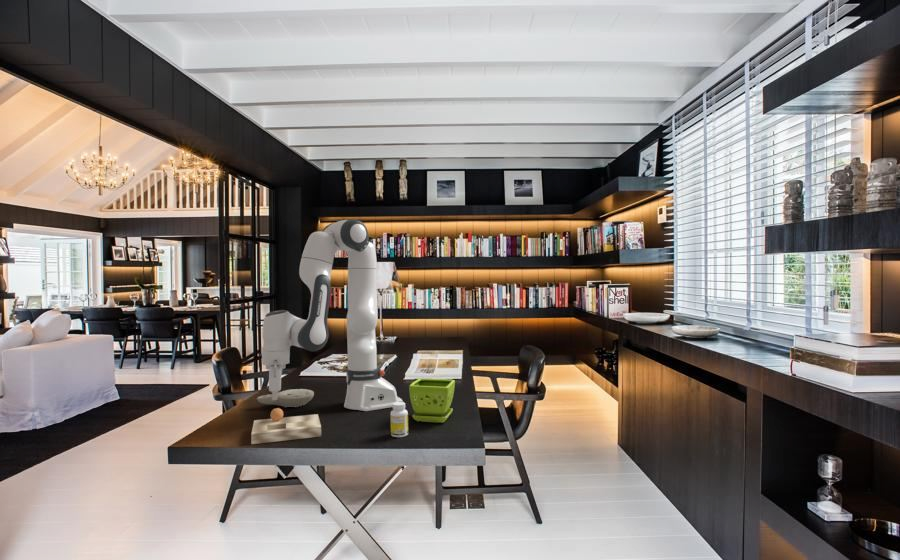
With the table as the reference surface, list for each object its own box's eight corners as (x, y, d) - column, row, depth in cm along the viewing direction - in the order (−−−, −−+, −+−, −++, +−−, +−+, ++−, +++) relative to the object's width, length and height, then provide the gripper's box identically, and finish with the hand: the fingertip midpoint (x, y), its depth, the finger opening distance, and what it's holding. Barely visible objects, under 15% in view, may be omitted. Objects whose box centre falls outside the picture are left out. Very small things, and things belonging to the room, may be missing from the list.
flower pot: (448, 425, 157) (448, 387, 157) (407, 423, 160) (407, 385, 160) (456, 414, 171) (456, 378, 171) (418, 412, 173) (418, 377, 173)
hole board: (317, 422, 161) (317, 414, 161) (321, 436, 147) (321, 426, 147) (254, 429, 155) (254, 420, 155) (251, 444, 141) (251, 434, 141)
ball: (283, 418, 157) (283, 406, 157) (283, 421, 153) (283, 409, 153) (270, 419, 155) (270, 407, 155) (270, 423, 152) (270, 410, 152)
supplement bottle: (399, 431, 152) (399, 400, 152) (411, 434, 148) (411, 402, 148) (387, 435, 147) (386, 403, 147) (399, 438, 144) (399, 406, 144)
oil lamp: (256, 414, 173) (256, 400, 173) (256, 405, 187) (256, 392, 187) (316, 407, 181) (315, 394, 181) (312, 399, 195) (311, 387, 195)
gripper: (285, 362, 152) (284, 406, 152) (285, 353, 172) (284, 392, 171) (264, 363, 150) (263, 407, 150) (266, 354, 169) (265, 393, 169)
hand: (274, 399), depth 161 cm, fingers closed
